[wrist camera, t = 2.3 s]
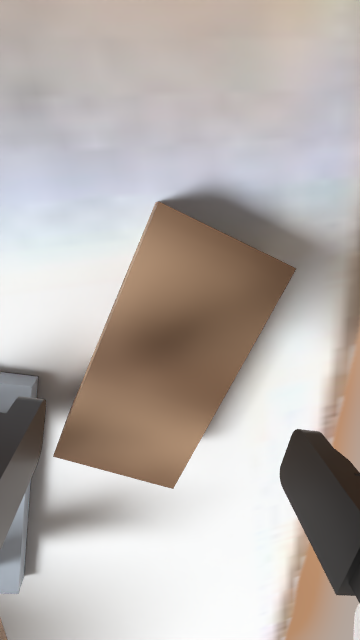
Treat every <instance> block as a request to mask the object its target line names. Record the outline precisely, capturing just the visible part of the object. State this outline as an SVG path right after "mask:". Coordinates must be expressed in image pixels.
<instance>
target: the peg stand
mask: <svg viewBox="0 0 360 640" xmlns="http://www.w3.org/2000/svg"><path fill="white" fill-rule="evenodd" d="M37 387H38V376H30V375H21V374H13V373H5V372H0V412H2V413H7V411H8V410H9V409H10V407H11V406H12V404H13V403H14V401H15V400H16V399H17V397H19V396H21V397H29V398H37ZM30 485H31V480H30V482H29V485H28V487H27V489H26V492H25V494H24V496H23V499H22V501H21V504H20V506H19V508H18V511H17V513H16V515H15V518H14V520H13V522H12V525H11V527H10V529H9V532H8V534H7V536H6V539H5V541H4V543H3V546H2V548H1V550H0V593H4V594H18V593H19V590H20V587H21V584H22V581H23V578H24V568H25V554H26V540H27V526H28V513H29V499H30Z"/></svg>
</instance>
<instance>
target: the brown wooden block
mask: <svg viewBox="0 0 360 640" xmlns="http://www.w3.org/2000/svg"><path fill="white" fill-rule="evenodd" d="M295 270H296V268H294V267H292V266H290V265H288V264H286V263H284V262H282V261H280V260H278V259H276V258H274V257H272V256H270V255H268V254H266V253H264V252H261V251H259V250H257V249H255V248H253V247H251V246H249V245H247V244H245V243H243V242H241V241H239V240H237V239H235V238H233V237H231V236H229V235H227V234H225V233H223V232H220V231H218V230H216V229H214V228H212V227H210V226H208V225H206V224H204V223H202V222H200V221H198V220H196V219H194V218H192V217H190V216H188V215H186V214H184V213H182V212H179V211H177V210H175V209H173V208H171V207H169V206H167V205H165V204H163V203H161V202H156V203H155V205H154V208H153V210H152V213H151V215H150V218H149V220H148V222H147V225H146V227H145V230H144V232H143V235H142V237H141V239H140V242H139V244H138V247H137V249H136V252H135V254H134V256H133V259H132V261H131V264H130V266H129V269H128V271H127V273H126V276H125V278H124V281H123V283H122V286H121V288H120V290H119V293H118V295H117V298H116V300H115V303H114V305H113V307H112V310H111V312H110V315H109V317H108V319H107V322H106V324H105V327H104V329H103V332H102V334H101V336H100V339H99V341H98V344H97V346H96V349H95V351H94V353H93V356H92V358H91V361H90V363H89V366H88V368H87V370H86V373H85V375H84V378H83V380H82V383H81V385H80V387H79V390H78V392H77V395H76V397H75V400H74V402H73V404H72V407H71V409H70V412H69V414H68V417H67V420H66V422H65V425H64V428H63V431H62V433H61V436H60V439H59V442H58V444H57V447H56V450H55V453H54V456H53V457H57V458H61V459H65V460H68V461H72V462H76V463H79V464H83V465H87V466H90V467H94V468H98V469H102V470H105V471H109V472H113V473H116V474H120V475H124V476H127V477H131V478H135V479H139V480H142V481H146V482H150V483H153V484H157V485H161V486H164V487H168V488H172V489H173V488H174V486H175V484H176V483H177V481H178V479H179V477H180V475H181V474H182V472H183V470H184V468H185V467H186V465H187V463H188V461H189V459H190V458H191V456H192V454H193V452H194V450H195V449H196V447H197V445H198V443H199V442H200V440H201V438H202V436H203V434H204V433H205V431H206V429H207V427H208V425H209V424H210V422H211V420H212V418H213V417H214V415H215V413H216V411H217V409H218V408H219V406H220V404H221V402H222V400H223V399H224V397H225V395H226V393H227V392H228V390H229V388H230V386H231V384H232V383H233V381H234V379H235V377H236V375H237V374H238V372H239V370H240V368H241V367H242V365H243V363H244V361H245V359H246V358H247V356H248V354H249V352H250V350H251V349H252V347H253V345H254V343H255V342H256V340H257V338H258V336H259V334H260V333H261V331H262V329H263V327H264V325H265V324H266V322H267V320H268V318H269V317H270V315H271V313H272V311H273V309H274V308H275V306H276V304H277V302H278V300H279V299H280V297H281V295H282V293H283V292H284V290H285V288H286V286H287V284H288V283H289V281H290V279H291V277H292V275H293V274H294V272H295Z"/></svg>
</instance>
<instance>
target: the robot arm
mask: <svg viewBox="0 0 360 640" xmlns="http://www.w3.org/2000/svg"><path fill="white" fill-rule="evenodd" d="M45 411H46V400H45V399H38V398H29V397H21V396H19V397H17V399H16V400H15V401H14V403H13V404H12V406H11V407H10V409H9V410H8V411H7V413H2V412H0V550H1V548H2V546H3V543H4V541H5V539H6V536H7V534H8V532H9V529H10V527H11V525H12V522H13V520H14V518H15V515H16V513H17V511H18V508H19V506H20V504H21V501H22V499H23V496H24V494H25V492H26V489H27V487H28V485H29V482H30V480H31V478H32V475H33V473H34V471H35V468H36V466H37V463H38V460H39V457H40V453H41V449H42V443H43V432H44V422H45ZM280 481H281V485H282V487H283V489H284V491H285V493H286V495H287V497H288V499H289V501H290V503H291V505H292V507H293V509H294V511H295V513H296V515H297V517H298V519H299V521H300V523H301V525H302V527H303V529H304V531H305V533H306V535H307V537H308V539H309V541H310V543H311V545H312V547H313V549H314V551H315V553H316V555H317V557H318V559H319V561H320V563H321V565H322V567H323V569H324V571H325V573H326V575H327V577H328V579H329V581H330V583H331V585H332V587H333V589H334V591H335V593H336V595H351V596H356V597H357V599H358V601H359V605H358V606H357V609H356V611H355V619H354V637H353V640H360V473H359V472H358V470H357V469H356V468H355V467H354V466H353V464H352V463H351V462H350V461H349V460H348V459H346V458H345V457H344V456H343V455H342V454H340V453H339V452H338V451H337V450H335V449H334V448H333V447H332V446H331V444H330V443H329V442H328V441H327V439H326V438H325V437H324V436H323V434H322V433H320V432H318V431H309V430H301V429H297V430H295V431H294V432H293V434H292V436H291V439H290V441H289V444H288V447H287V450H286V453H285V455H284V458H283V461H282V464H281V467H280ZM0 640H7V637H6V634H5V631H4V628H3V625H2V622H1V619H0Z"/></svg>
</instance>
